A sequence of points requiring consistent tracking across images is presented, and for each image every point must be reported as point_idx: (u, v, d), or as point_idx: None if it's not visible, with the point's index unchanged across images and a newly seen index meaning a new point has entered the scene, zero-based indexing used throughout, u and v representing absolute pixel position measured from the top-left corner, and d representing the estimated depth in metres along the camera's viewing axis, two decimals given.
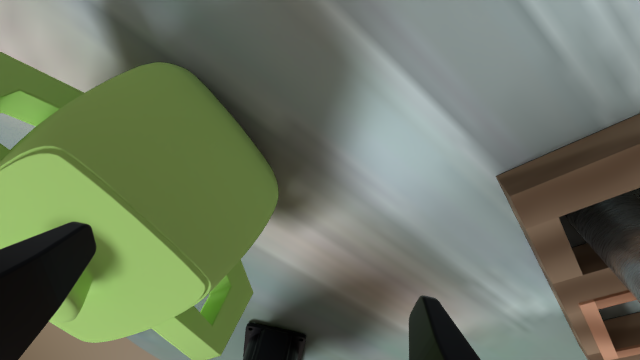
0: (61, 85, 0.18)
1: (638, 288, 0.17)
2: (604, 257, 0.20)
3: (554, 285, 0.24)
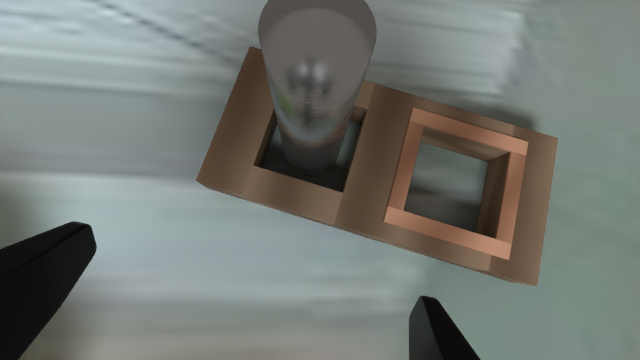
0: None
1: (286, 132, 0.16)
2: (296, 154, 0.19)
3: (337, 223, 0.20)
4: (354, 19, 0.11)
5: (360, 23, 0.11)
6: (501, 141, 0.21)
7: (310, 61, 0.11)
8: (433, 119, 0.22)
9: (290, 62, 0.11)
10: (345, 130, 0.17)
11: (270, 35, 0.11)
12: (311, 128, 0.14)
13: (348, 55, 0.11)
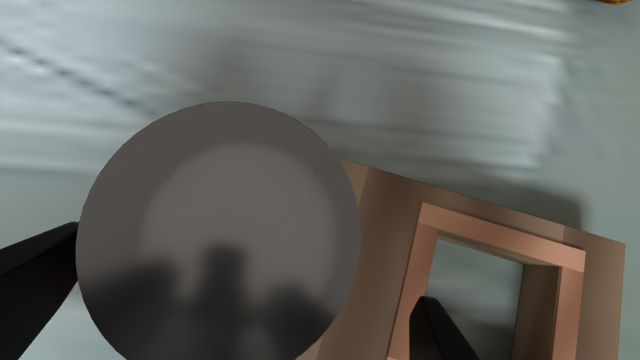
0: None
1: None
2: None
3: None
4: (310, 201, 0.05)
5: (324, 212, 0.05)
6: (547, 251, 0.15)
7: (197, 323, 0.04)
8: (451, 219, 0.15)
9: (148, 326, 0.04)
10: None
11: (105, 251, 0.04)
12: None
13: (293, 301, 0.04)
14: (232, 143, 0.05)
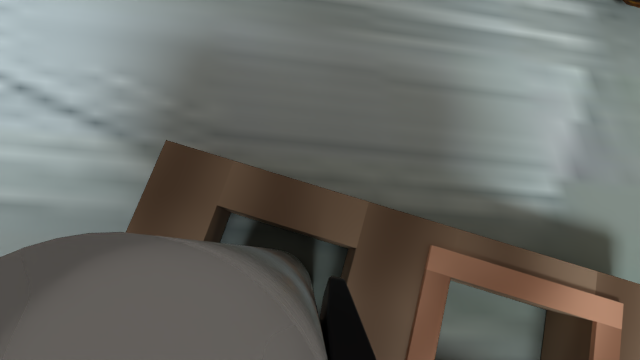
0: None
1: None
2: None
3: None
4: None
5: None
6: (579, 304, 0.13)
7: None
8: (465, 266, 0.13)
9: None
10: None
11: None
12: None
13: None
14: (109, 317, 0.03)
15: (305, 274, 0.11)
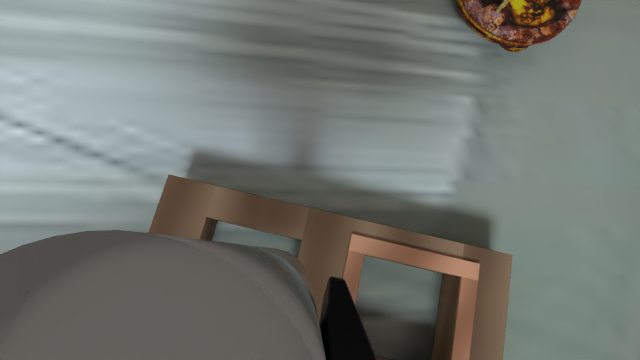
0: None
1: None
2: None
3: None
4: None
5: None
6: (450, 266, 0.19)
7: None
8: (374, 246, 0.20)
9: None
10: None
11: None
12: None
13: None
14: (106, 315, 0.03)
15: (304, 274, 0.11)
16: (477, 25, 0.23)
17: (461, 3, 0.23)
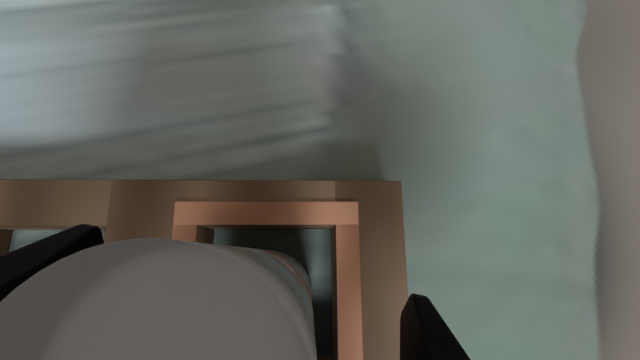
0: None
1: None
2: None
3: None
4: None
5: None
6: (318, 213, 0.14)
7: None
8: (209, 211, 0.14)
9: None
10: None
11: None
12: None
13: None
14: (147, 300, 0.04)
15: (303, 274, 0.12)
16: None
17: None
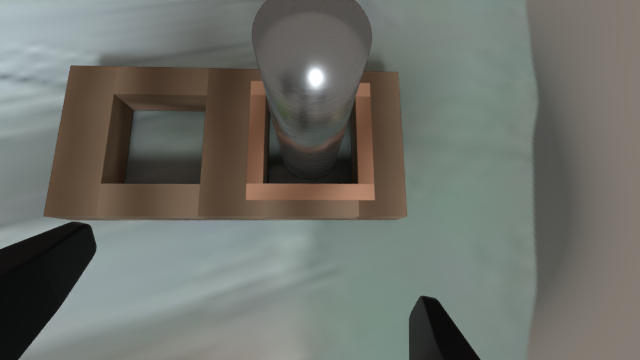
0: None
1: (283, 137, 0.16)
2: (294, 158, 0.19)
3: (201, 214, 0.20)
4: (349, 23, 0.11)
5: (355, 27, 0.11)
6: None
7: (304, 66, 0.10)
8: None
9: (285, 67, 0.10)
10: (343, 134, 0.17)
11: (264, 40, 0.11)
12: (307, 134, 0.14)
13: (343, 60, 0.11)
14: (314, 0, 0.11)
15: None
16: None
17: None
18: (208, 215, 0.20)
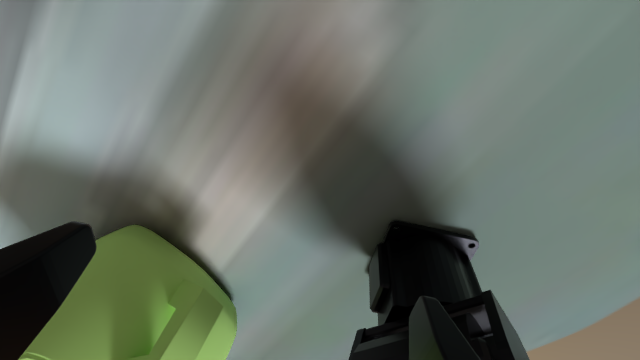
0: None
1: None
2: None
3: None
4: None
5: None
6: None
7: None
8: None
9: None
10: None
11: None
12: None
13: None
14: None
15: None
16: None
17: None
18: None
